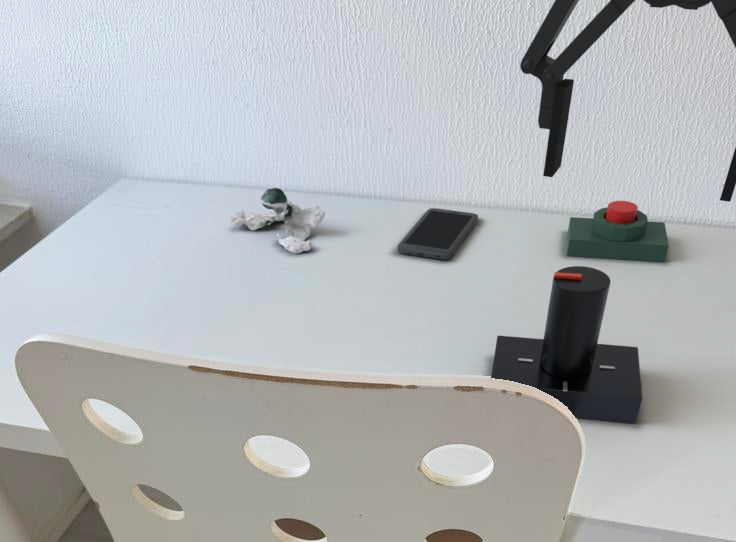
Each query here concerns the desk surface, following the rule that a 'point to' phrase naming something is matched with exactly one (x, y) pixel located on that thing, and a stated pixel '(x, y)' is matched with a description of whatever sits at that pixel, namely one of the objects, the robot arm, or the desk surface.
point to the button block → (617, 238)
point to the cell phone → (438, 233)
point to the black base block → (583, 394)
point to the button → (621, 212)
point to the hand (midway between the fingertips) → (636, 183)
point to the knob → (574, 321)
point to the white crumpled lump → (283, 219)
